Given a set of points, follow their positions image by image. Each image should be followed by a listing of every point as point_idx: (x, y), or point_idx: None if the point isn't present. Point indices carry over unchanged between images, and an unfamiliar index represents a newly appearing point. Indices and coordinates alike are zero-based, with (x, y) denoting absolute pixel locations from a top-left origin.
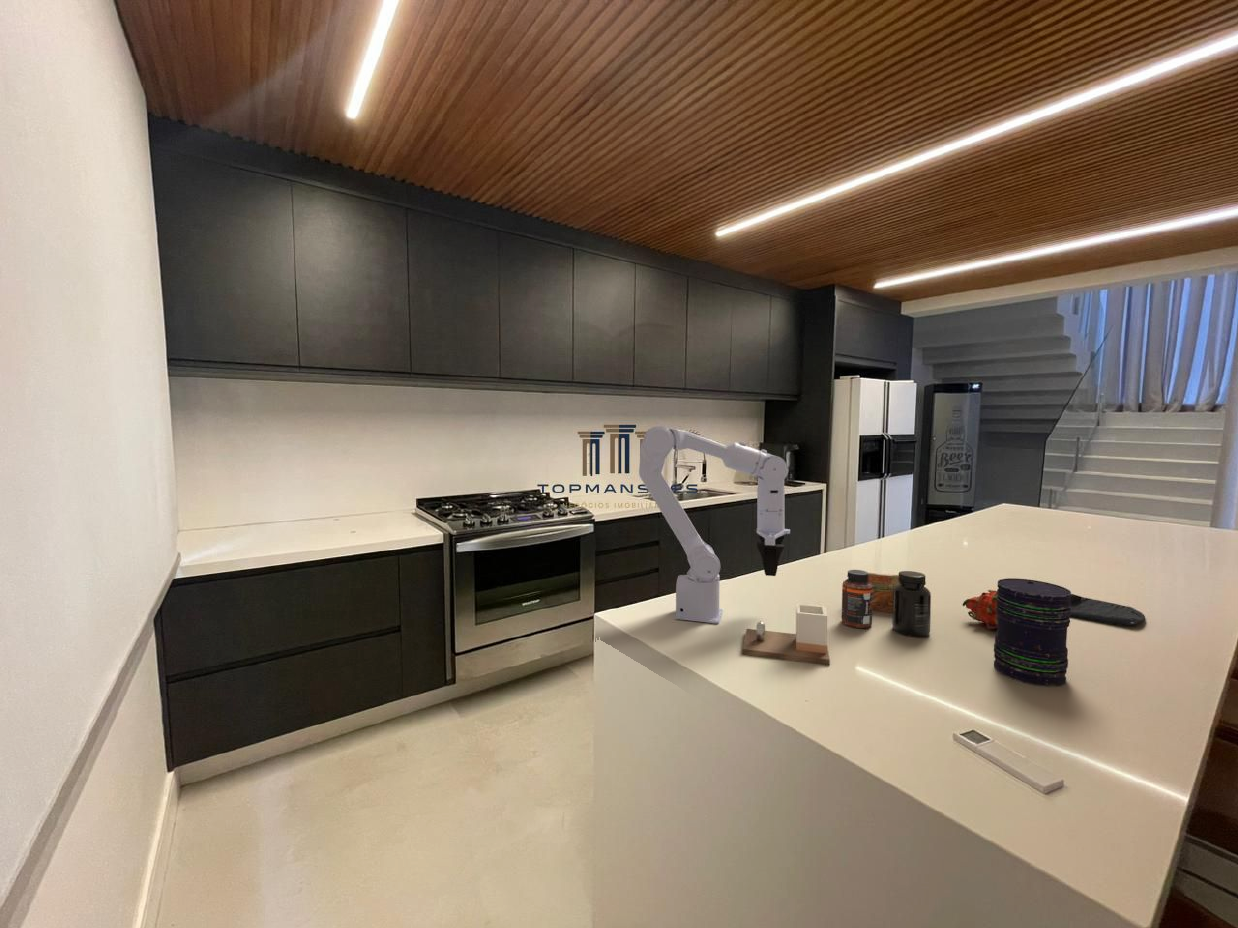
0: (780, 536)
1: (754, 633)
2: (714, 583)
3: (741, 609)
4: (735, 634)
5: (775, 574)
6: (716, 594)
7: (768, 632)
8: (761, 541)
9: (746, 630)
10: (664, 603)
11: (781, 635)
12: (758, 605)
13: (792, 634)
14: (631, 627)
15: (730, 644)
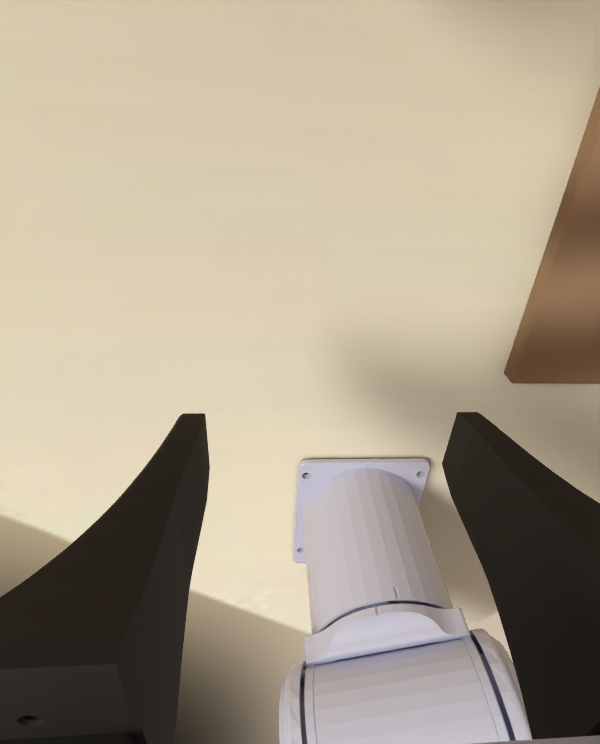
0: (129, 680)
1: (560, 356)
2: (439, 597)
3: (250, 403)
4: (512, 403)
5: (484, 419)
6: (414, 545)
7: (552, 308)
8: (175, 701)
9: (531, 382)
10: (268, 594)
11: (589, 258)
12: (171, 345)
13: (581, 209)
14: (468, 611)
15: (594, 410)
